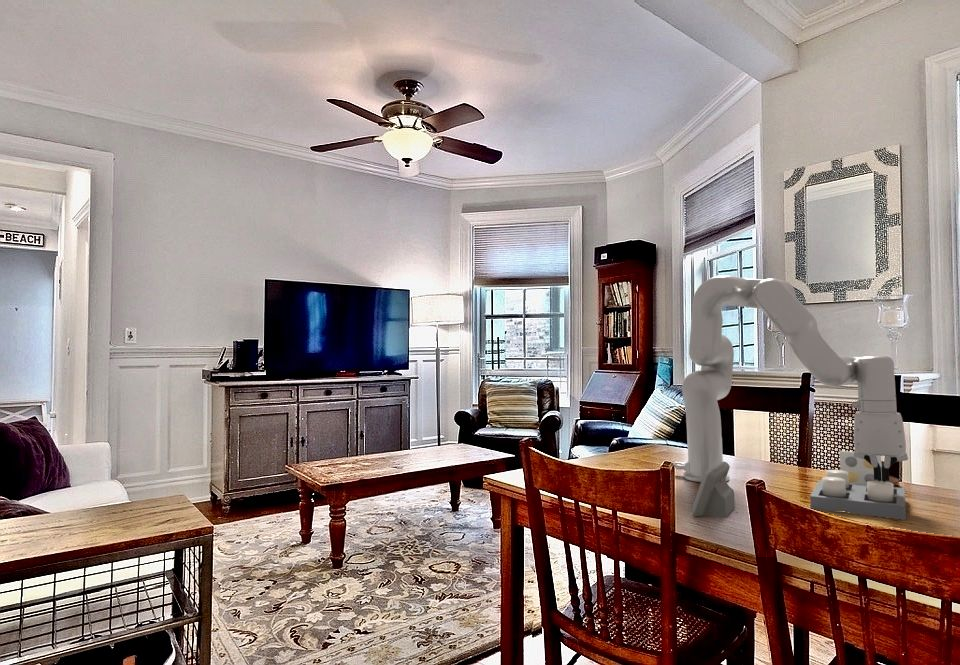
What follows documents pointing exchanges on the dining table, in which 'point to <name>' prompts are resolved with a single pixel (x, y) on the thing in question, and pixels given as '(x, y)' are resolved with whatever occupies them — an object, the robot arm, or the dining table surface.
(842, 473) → the button
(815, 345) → the robot arm
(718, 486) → the grey slanted panel stand
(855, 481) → the card
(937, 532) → the dining table surface
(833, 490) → the button
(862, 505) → the button board
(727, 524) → the dining table surface
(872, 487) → the button
